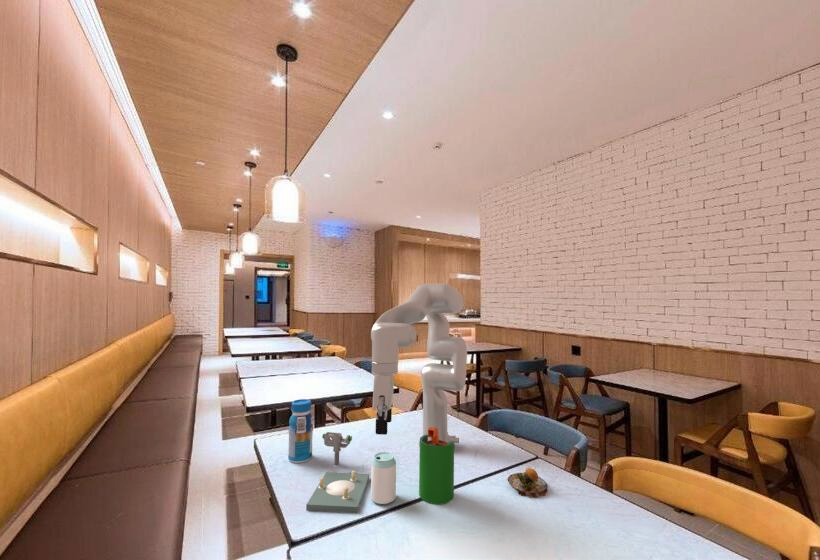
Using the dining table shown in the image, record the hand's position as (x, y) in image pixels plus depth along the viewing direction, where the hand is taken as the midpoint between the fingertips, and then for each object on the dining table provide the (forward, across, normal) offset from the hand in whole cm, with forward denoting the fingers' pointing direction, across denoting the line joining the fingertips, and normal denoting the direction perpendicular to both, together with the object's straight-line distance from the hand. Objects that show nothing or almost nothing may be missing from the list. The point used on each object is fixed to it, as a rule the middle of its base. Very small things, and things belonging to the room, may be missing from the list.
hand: (383, 427), depth 103 cm
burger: (+20, -10, +43) cm, 49 cm away
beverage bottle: (+20, -23, -33) cm, 45 cm away
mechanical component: (+20, -20, -19) cm, 34 cm away
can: (+20, 0, 0) cm, 20 cm away
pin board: (+20, -2, -13) cm, 24 cm away
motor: (+20, -3, +15) cm, 25 cm away
